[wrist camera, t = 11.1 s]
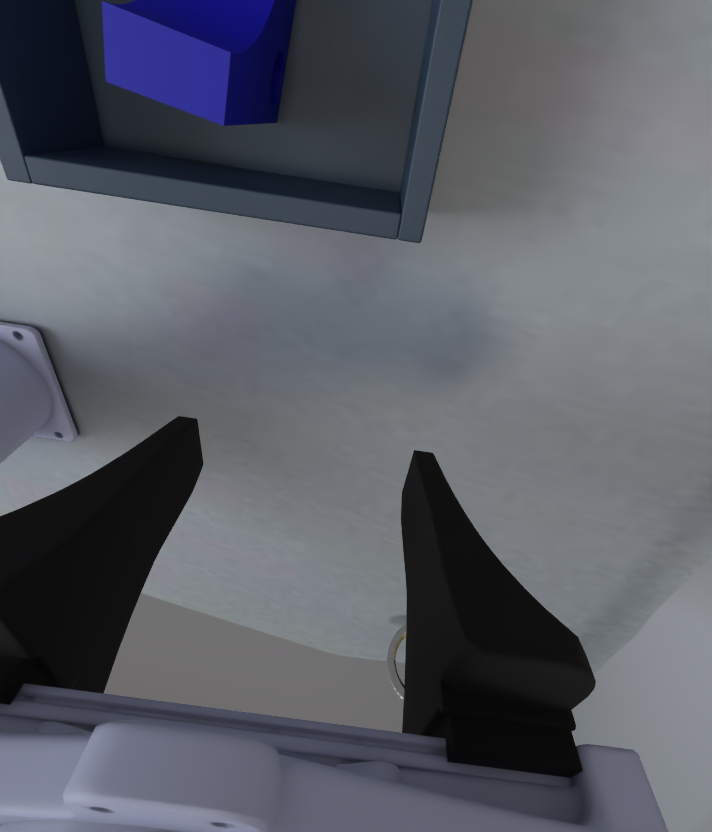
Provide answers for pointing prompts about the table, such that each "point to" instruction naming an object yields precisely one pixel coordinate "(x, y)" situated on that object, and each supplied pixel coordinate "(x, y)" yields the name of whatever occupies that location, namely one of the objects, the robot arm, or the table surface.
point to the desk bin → (244, 144)
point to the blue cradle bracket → (202, 55)
